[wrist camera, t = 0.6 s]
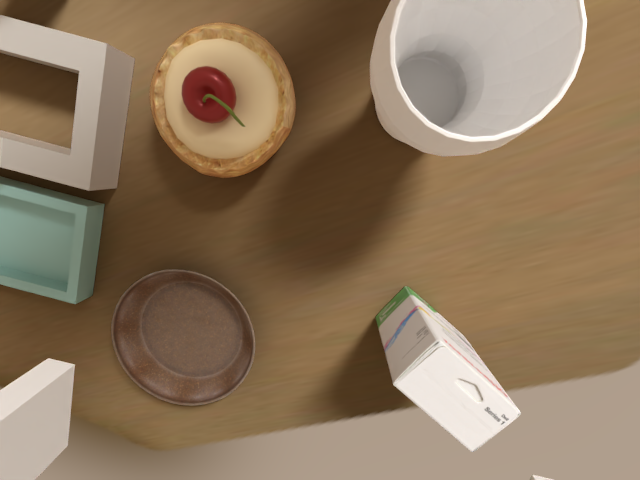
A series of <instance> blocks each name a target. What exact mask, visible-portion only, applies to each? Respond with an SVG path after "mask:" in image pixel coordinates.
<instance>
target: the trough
mask: <svg viewBox="0 0 640 480" xmlns="http://www.w3.org/2000/svg"><path fill="white" fill-rule="evenodd" d="M104 206H105V204H102V203H98V202H95V201H91V200H87V199H83V198H80V197H76V196H72V195H69V194H65V193H61V192H57V191H54V190H50V189H46V188H42V187H39V186H35V185H31V184H27V183H24V182H20V181H16V180H12V179H9V178H5V177H1V176H0V284H1V285H5V286H8V287H12V288H16V289H20V290H23V291H27V292H31V293H35V294H39V295H42V296H46V297H50V298H54V299H57V300H61V301H65V302H69V303H73V304H77V303H79V302H81V301H83V300H85V299H87V298H89V297H90V296H92V295H93V289H94V282H95V274H96V266H97V259H98V251H99V244H100V236H101V228H102V221H103V213H104Z"/></svg>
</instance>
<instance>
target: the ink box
mask: <svg viewBox="0 0 640 480" xmlns="http://www.w3.org/2000/svg"><path fill="white" fill-rule="evenodd" d="M376 321H377V325H378V328H379V333H380V336H381V340H382V344H383V347H384V351H385V354H386V358H387V362H388V366H389V370H390V374H391V377H392V381H393V385H394V386H395V387H396V388H397V389H399V390H400V391H401V392H402V393H403V394H404V395H406V396H407V397H408V398H409V399H410V400H411V401H412V402H414V403H415V404H416V405H417V406H418V407H419V408H420V409H422V410H423V411H424V412H425V413H426V414H428V415H429V416H430V417H431V418H433V420H435V421H436V422H437V423H438V424H439V425H441V426H442V427H443V428H444V429H445V430H446V431H448V432H449V433H450V434H451V435H452V436H453V437H454V438H456V439H457V440H458V441H459V442H460V443H462V444H463V445H464V446H465V447H466V448H467V449H469V450H470V451H471V452H474V451H476V450H477V449H478V448H479V447H481V446H482V445H483V444H485V443H486V442H487V441H488V440H490V439H491V438H492V437H494V436H495V435H496V434H497V433H498V432H499V431H501V430H502V429H503V428H505V427H506V426H507V425H508V424H510V423H511V422H512V421H513V420H515V419H516V418H517V417H518V416H519V415H520V414H521V413H520V411H519V409H518V408H517V407H516V406H515V404H514V403H513V401H512V400H511V399H510V397H509V396H508V395H507V393H506V392H505V391H504V389H503V388H502V387H501V385H500V384H499V383H498V381H497V380H496V379H495V377H494V376H493V375H492V373H491V372H490V371H489V369H488V368H487V367H486V365H485V364H484V363H483V361H482V360H481V359H480V357H479V356H478V354H477V353H476V352H475V350H474V349H473V347H472V346H471V345H470V343H469V342H468V341H467V339H466V338H465V337H464V336H463V335H462V334H461V333H460V332H459V331H458V330H457V329H456V328H454V327H453V326H452V325H451V324H450V323H449V322H448V321H447V320H445V319H444V318H443V317H442V316H441V315H440V314H439V313H438V312H436V311H435V310H434V309H433V308H432V307H431V306H430V305H429V304H427V303H426V302H425V301H424V300H423V299H422V298H421V297H419V296H418V295H417V294H416V293H415V292H414V291H413V290H412V289H410V288H409V287H404V288H403V289H402V290H401V291H400V292H399V293H398V294H397V295H396V296H395V297H394V298H393V299H392V300H391V301H390V302H389V303H388V304H387V305H386V306H385V307H384V308H383V309H382V310H381V311H380V312H379V314H378V315H377V316H376Z"/></svg>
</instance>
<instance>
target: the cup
mask: <svg viewBox="0 0 640 480" xmlns="http://www.w3.org/2000/svg"><path fill="white" fill-rule="evenodd" d="M586 26H587V19H586V13H585V7H584V1H583V0H391V1H390V3H389V5H388V7H387V9H386V11H385V13H384V15H383V17H382V20H381V22H380V24H379V26H378V30H377V33H376V37H375V41H374V45H373V50H372V54H371V59H370V87H371V90H372V94H373V97H374V101H375V109H376V113H377V116H378V120H379V121H380V123H381V125H382V126H383V128H384V130H385V131H387V132H388V133H389V134H390V135H391V136H392V137H393V138H395V139H397V140H399V141H401V142H404V143H406V144H408V145H410V146H412V147H414V148H416V149H418V150H420V151H421V152H425V153H429V154H434V155H439V156H460V155H474V154H480V153H483V152H486V151H489V150H492V149H495V148H498V147H501V146H503V145H504V144H506V143H508V142H509V141H511V140H512V139H514V138H516V137H517V136H519V135H520V134H522V133H524V132H525V131H526V130H528V129H529V128H531V127H532V126H533V125H535V124H536V123H538V122H539V121H540V120H542V119H543V118H544V117H545V116H546V115H547V114H548V113H549V112H550V111H551V110H552V109H553V108H554V107H555V106H556V105H557V103H558V102H559V101H560V100H561V99H562V97H563V96H564V94H565V92H566V91H567V89H568V88H569V86H570V84H571V83H572V81H573V80H574V78H575V76H576V73H577V70H578V67H579V64H580V61H581V58H582V55H583V52H584V49H585V38H586Z"/></svg>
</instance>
